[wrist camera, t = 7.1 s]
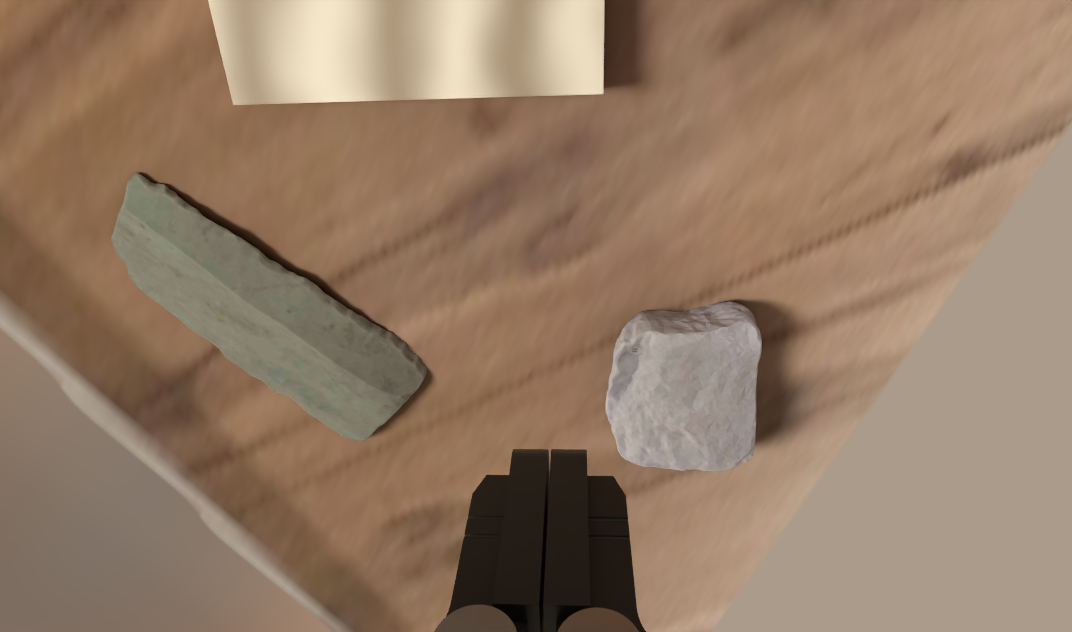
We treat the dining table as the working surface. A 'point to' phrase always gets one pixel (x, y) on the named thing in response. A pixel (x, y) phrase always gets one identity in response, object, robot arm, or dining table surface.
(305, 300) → the stone slab
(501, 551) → the robot arm
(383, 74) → the ash plank
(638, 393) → the stone block
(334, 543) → the dining table surface
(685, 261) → the dining table surface
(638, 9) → the dining table surface
